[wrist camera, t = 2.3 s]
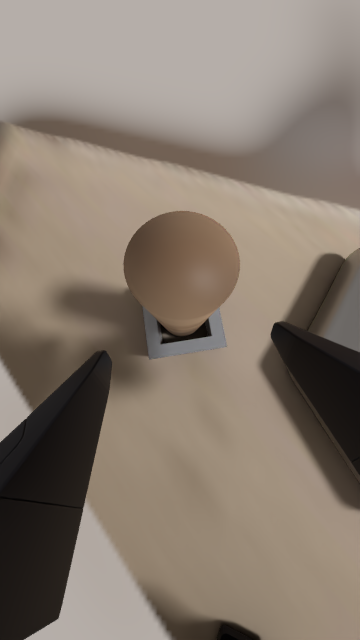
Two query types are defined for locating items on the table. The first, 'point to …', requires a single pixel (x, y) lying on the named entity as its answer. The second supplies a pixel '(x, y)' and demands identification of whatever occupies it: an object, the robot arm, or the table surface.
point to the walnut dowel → (181, 269)
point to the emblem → (340, 323)
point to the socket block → (188, 346)
